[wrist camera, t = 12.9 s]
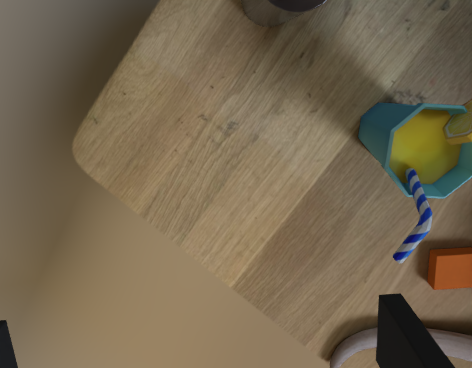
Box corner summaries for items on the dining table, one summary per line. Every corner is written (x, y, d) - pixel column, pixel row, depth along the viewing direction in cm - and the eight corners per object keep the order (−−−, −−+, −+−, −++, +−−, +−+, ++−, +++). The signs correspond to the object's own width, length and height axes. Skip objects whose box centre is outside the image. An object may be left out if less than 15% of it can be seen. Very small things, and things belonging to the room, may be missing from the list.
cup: (376, 212, 45) (448, 287, 31) (311, 181, 44) (354, 245, 30) (451, 89, 42) (572, 109, 27) (383, 52, 40) (472, 53, 26)
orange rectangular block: (475, 246, 47) (484, 253, 45) (472, 279, 48) (480, 286, 46) (429, 249, 47) (436, 256, 45) (427, 282, 48) (433, 290, 46)
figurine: (560, 362, 51) (583, 393, 47) (326, 346, 53) (330, 374, 49) (576, 324, 49) (602, 354, 45) (330, 309, 51) (334, 336, 47)
